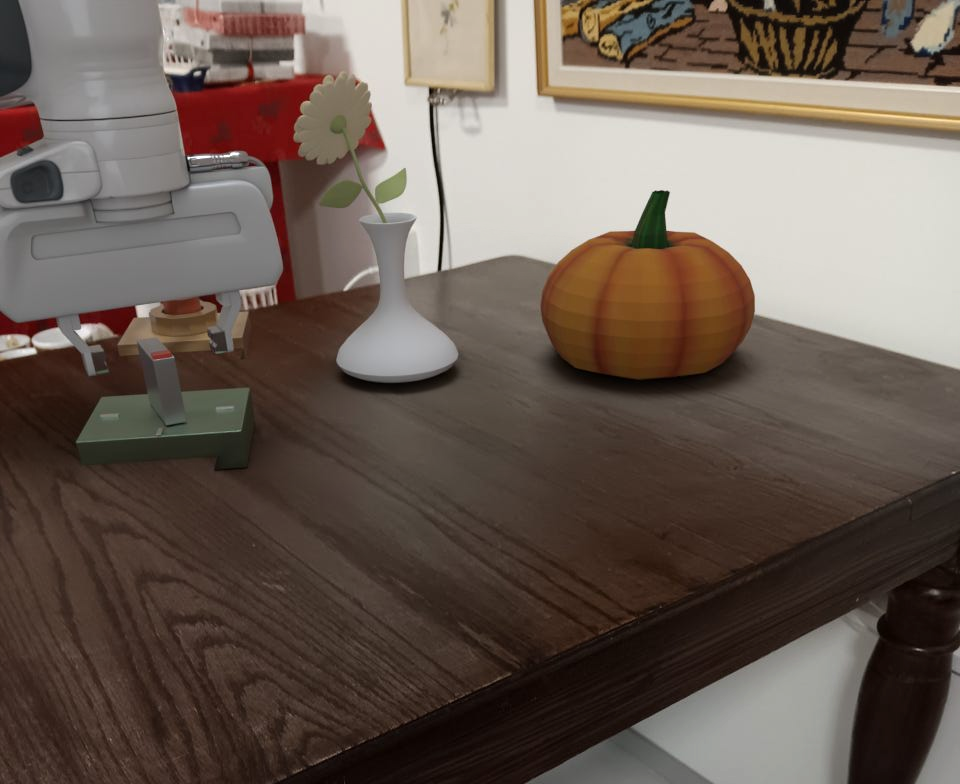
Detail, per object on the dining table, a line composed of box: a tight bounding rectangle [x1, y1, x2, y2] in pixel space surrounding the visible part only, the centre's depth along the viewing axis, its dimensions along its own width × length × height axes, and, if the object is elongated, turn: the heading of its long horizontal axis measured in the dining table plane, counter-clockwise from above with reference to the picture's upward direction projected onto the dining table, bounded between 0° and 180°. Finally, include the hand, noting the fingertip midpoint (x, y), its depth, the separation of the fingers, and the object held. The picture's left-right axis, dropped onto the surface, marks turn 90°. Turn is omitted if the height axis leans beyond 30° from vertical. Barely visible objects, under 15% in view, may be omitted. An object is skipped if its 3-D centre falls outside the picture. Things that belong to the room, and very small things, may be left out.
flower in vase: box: [292, 70, 459, 384], centre depth 86 cm, size 13×11×25 cm
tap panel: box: [75, 387, 256, 471], centre depth 78 cm, size 12×10×3 cm
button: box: [162, 296, 201, 315], centre depth 100 cm, size 4×4×2 cm
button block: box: [116, 300, 253, 360], centre depth 101 cm, size 12×10×4 cm
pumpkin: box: [540, 189, 756, 381], centre depth 91 cm, size 19×19×15 cm
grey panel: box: [137, 337, 187, 425], centre depth 76 cm, size 6×2×5 cm, turn 28°
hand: (161, 362), depth 75 cm, fingers open, 8 cm apart
